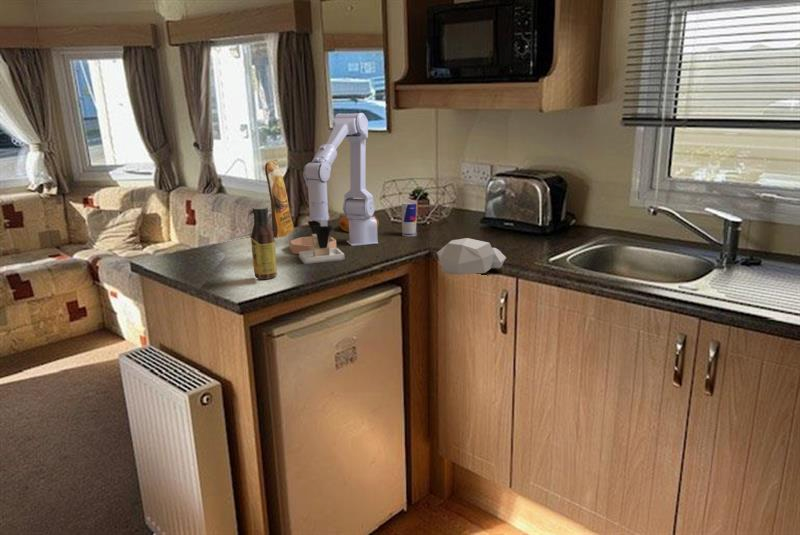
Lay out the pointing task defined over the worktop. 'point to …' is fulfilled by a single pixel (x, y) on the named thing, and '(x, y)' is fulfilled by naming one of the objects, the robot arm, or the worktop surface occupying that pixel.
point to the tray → (309, 258)
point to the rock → (469, 257)
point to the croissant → (345, 223)
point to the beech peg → (316, 249)
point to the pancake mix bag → (278, 200)
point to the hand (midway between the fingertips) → (320, 245)
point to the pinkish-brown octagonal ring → (307, 244)
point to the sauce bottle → (263, 245)
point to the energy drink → (409, 219)
